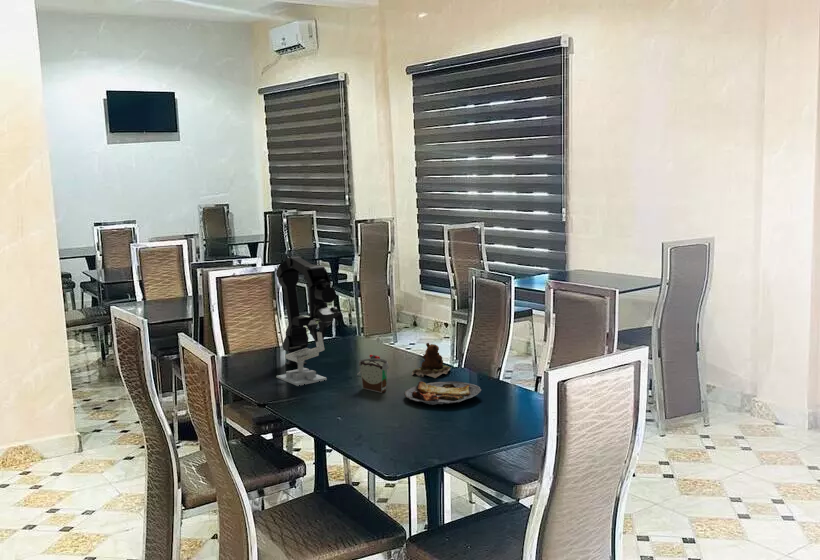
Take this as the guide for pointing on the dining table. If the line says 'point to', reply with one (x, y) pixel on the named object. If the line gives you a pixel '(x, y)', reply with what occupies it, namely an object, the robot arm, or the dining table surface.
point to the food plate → (442, 392)
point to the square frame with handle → (307, 351)
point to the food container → (374, 374)
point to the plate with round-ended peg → (301, 376)
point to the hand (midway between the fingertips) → (319, 341)
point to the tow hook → (370, 358)
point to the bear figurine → (432, 363)
